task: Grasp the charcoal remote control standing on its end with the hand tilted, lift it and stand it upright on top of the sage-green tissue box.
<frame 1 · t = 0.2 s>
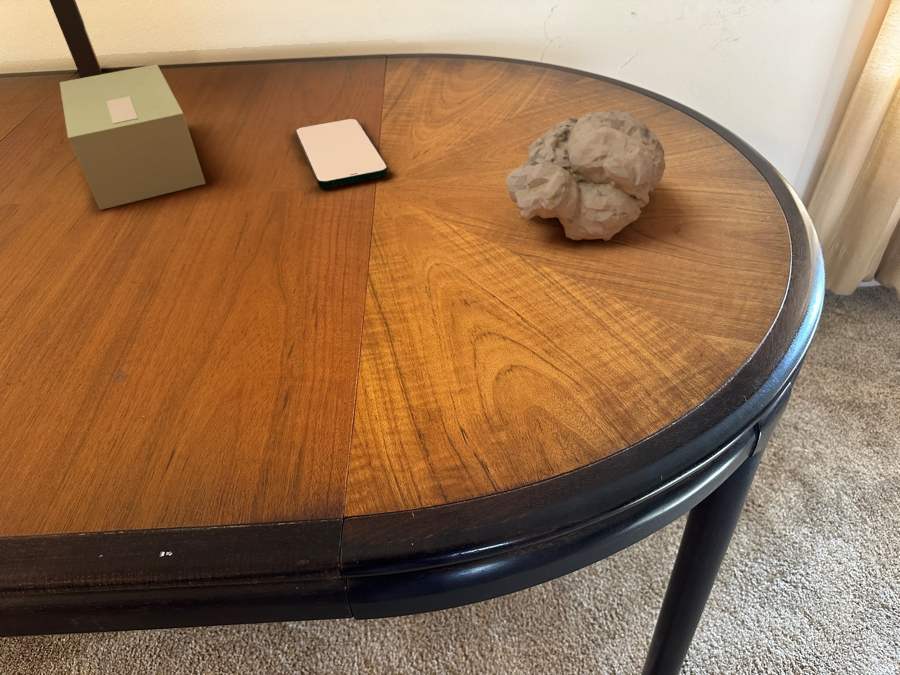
mineral: (589, 216, 64), on the table
tissue box: (143, 164, 76), on the table
remote: (91, 75, 101), on the table
smartphone: (340, 155, 76), on the table
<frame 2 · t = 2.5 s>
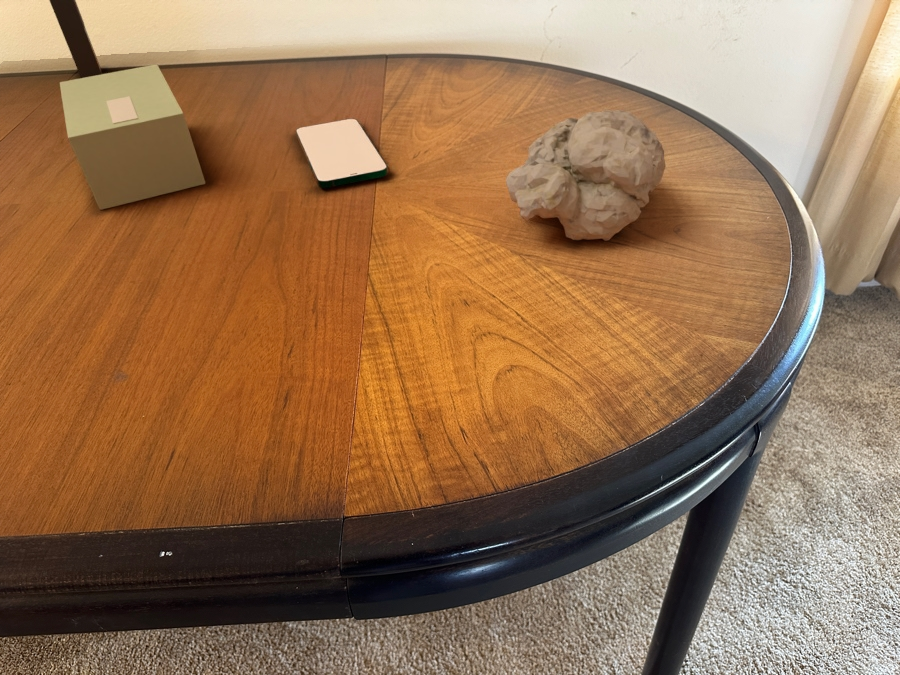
nothing on the table moved.
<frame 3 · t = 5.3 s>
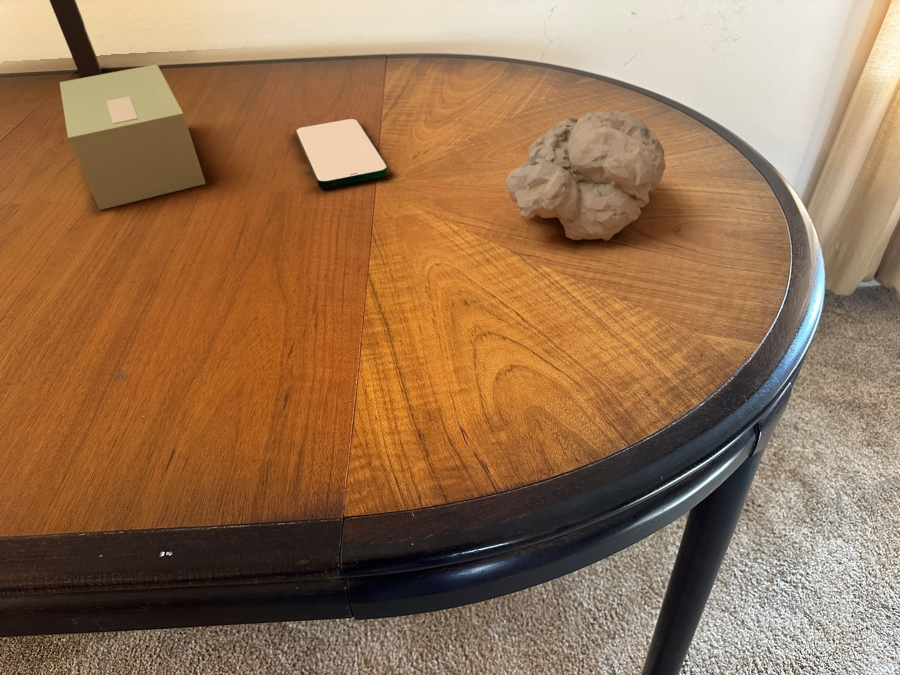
nothing on the table moved.
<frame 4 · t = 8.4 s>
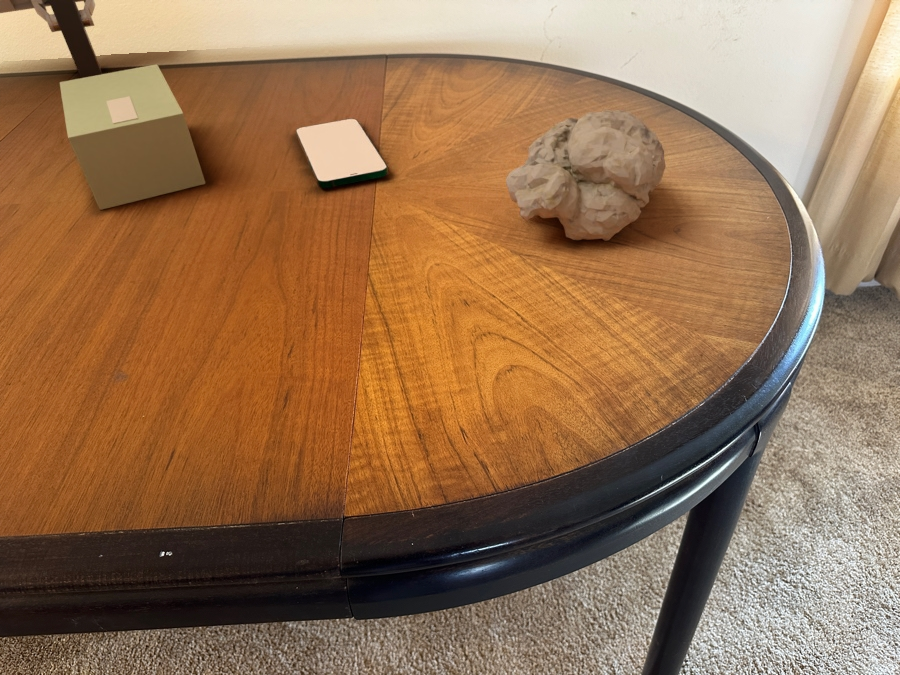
hand: (72, 26, 96), 7 cm above the table, tool tilted 45°, fingers closed on remote, 3 cm apart
remote: (91, 75, 101), on the table, touching gripper
everything else where it was.
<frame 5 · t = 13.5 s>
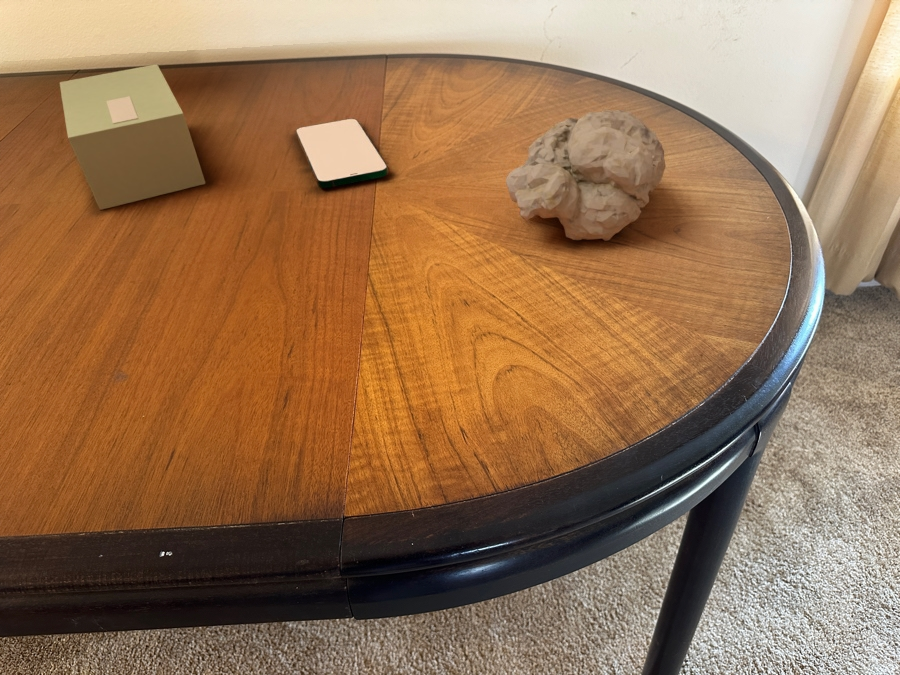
when the fingers open (15 cm above the table, at t = 18.8 s): remote stays where it is, resting on tissue box.
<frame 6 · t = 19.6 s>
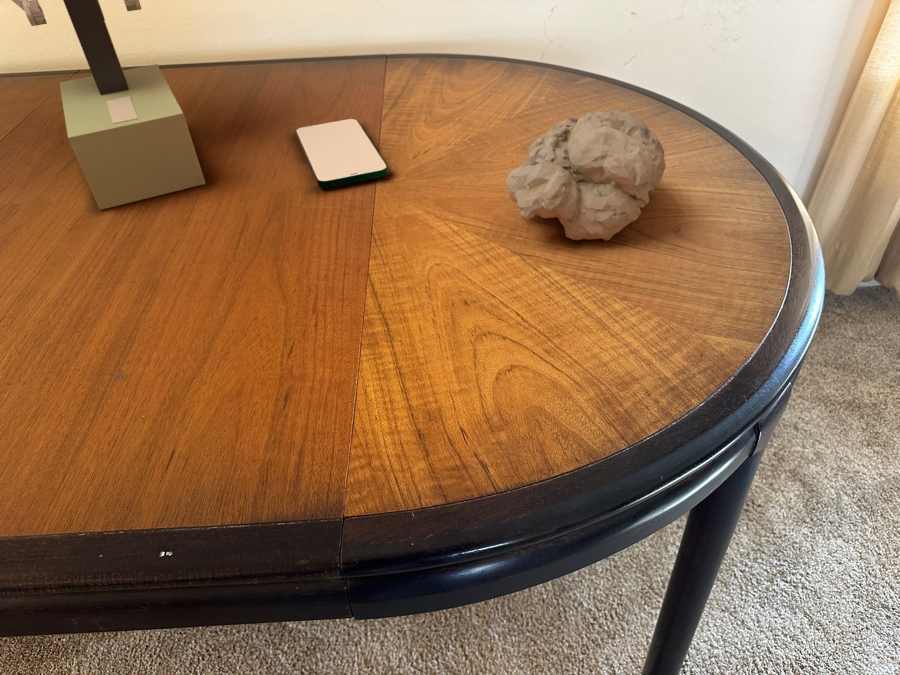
hand: (86, 14, 68), 16 cm above the table, tool tilted 45°, fingers open, 8 cm apart
remote: (113, 85, 74), point 8 cm above the table, touching tissue box
everything else where it was.
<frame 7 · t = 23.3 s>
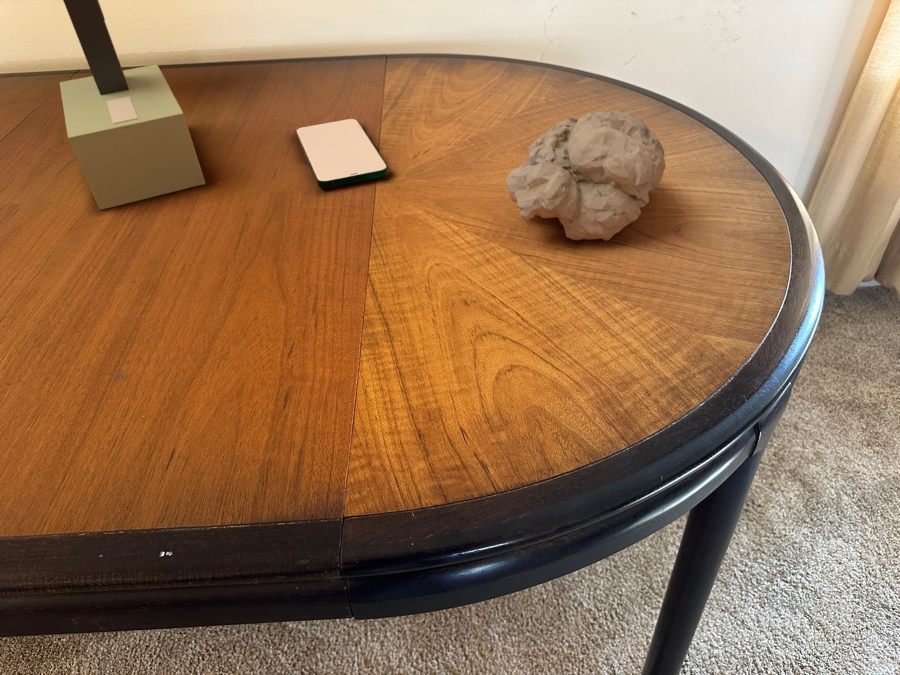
nothing on the table moved.
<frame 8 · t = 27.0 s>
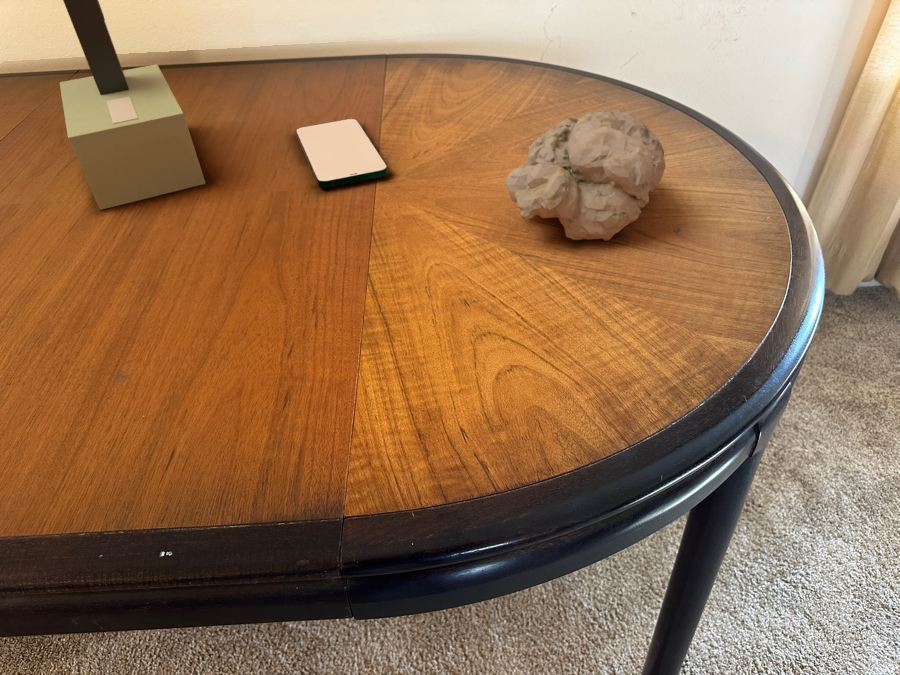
nothing on the table moved.
at the end: remote inside the target area on the tissue box (2.5 cm from its centre), point 8.0 cm above the tissue box's base; remote tilted 0°; the gripper is holding nothing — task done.
